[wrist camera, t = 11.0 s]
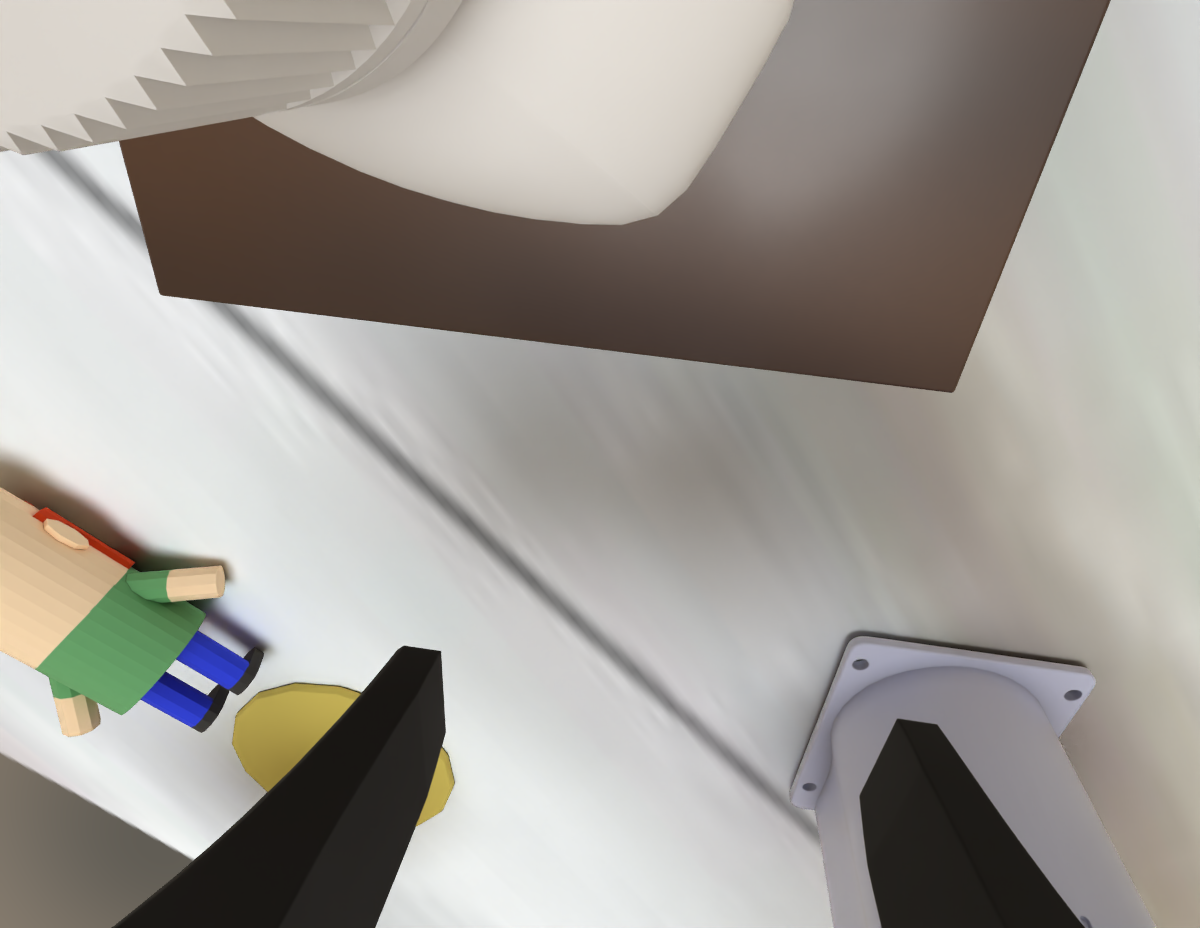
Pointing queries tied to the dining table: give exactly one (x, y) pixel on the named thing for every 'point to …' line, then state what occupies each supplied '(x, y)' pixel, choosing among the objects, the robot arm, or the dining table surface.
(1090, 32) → the shelf
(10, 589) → the toy figurine
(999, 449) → the dining table surface
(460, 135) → the eye dropper bottle
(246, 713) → the candle
